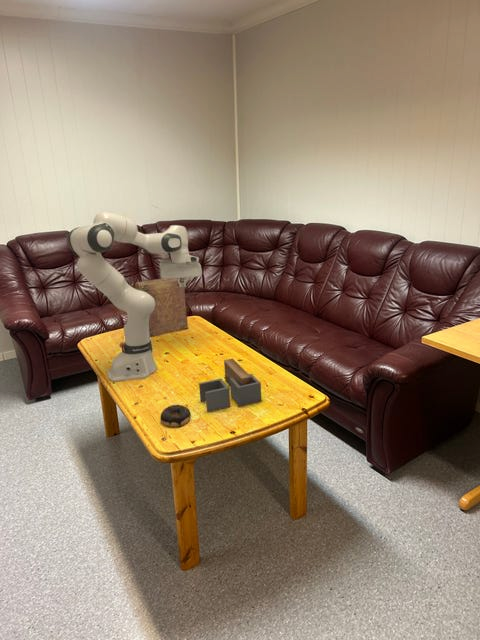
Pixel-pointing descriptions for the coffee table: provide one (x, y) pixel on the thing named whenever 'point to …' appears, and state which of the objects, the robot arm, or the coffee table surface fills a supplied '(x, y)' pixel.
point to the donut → (175, 415)
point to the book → (166, 305)
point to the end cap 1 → (214, 394)
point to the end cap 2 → (246, 392)
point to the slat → (236, 373)
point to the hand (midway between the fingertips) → (182, 287)
